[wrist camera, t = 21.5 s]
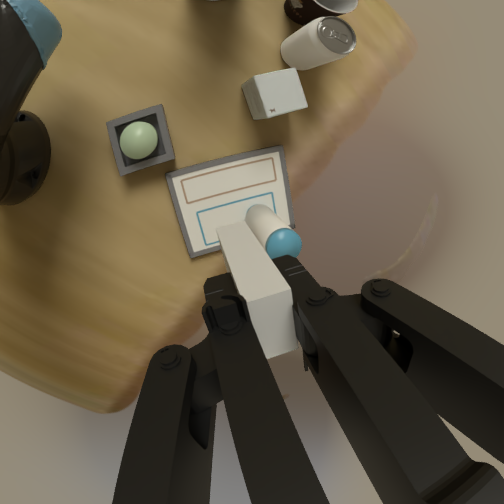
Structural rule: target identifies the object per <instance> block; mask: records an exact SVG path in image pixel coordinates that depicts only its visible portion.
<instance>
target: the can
mask: <svg viewBox="0 0 504 504" xmlns="http://www.w3.org/2000/svg"><path fill="white" fill-rule="evenodd" d="M355 46H356V36H355V33H354V31H353V29H352V28H351V26H350V25H349V24H348V23H347V22H346V21H344V20H343V19H341V18H338V17H335V16H327V17H320V18H317V19H315V20H313V21H311V22H310V23H308V24H307V25H305V26H304V27H302V28H300V29H299V30H297V31H296V32H295V33H293V34H292V35H290V36H289V37H287V38H286V39H285V40H284V41H283V42H282V44H281V55H282V58H283V60H284V61H285V62H286V63H287V64H288V65H289V66H290V67H292V68H296V69H297V70H308V69H312V68H314V67H317V66H320V65H323V64H327V63H330V62H333V61H336V60H339V59H342V58H344V57H346V56H347V55H348V54H349V53H350V52H352V51H353V50H354V48H355Z"/></svg>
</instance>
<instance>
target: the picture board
mask: <svg viewBox="0 0 504 504" xmlns="http://www.w3.org/2000/svg"><path fill="white" fill-rule="evenodd" d="M165 176H166V179H167V183H168V186H169V190H170V193H171V197H172V200H173V204H174V207H175V210H176V214H177V217H178V220H179V224H180V227H181V230H182V233H183V236H184V240H185V243H186V246H187V249H188V252H189V255H190V258H193V257H197V256H200V255H203V254H207V253H210V252H214V251H217V250H221V246H220V243H219V239H218V235H217V231H216V228H219V227H222V226H226V225H230V224H233V223H237V222H241V221H245V217H246V213H247V210H248V209H249V208H250V207H251V206H253V205H256V204H263V205H266V206H268V207H269V208H270V209H271V210H272V211H273V212H274V213H275V214H277V215H278V216H279V217H280V218H281V219H282V220H283V221H284V222H285V223H286V224H287V225H288V226H289V227H290V228H291V229H294V228H295V221H294V214H293V207H292V200H291V193H290V186H289V180H288V173H287V167H286V161H285V155H284V149H283V145H278V146H273V147H268V148H263V149H258V150H253V151H249V152H244V153H240V154H236V155H231V156H227V157H223V158H219V159H215V160H211V161H207V162H203V163H200V164H196V165H192V166H189V167H185V168H182V169H178V170H175V171H171V172H168V173H165ZM245 222H246V221H245Z"/></svg>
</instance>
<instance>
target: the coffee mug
mask: <svg viewBox="0 0 504 504" xmlns="http://www.w3.org/2000/svg"><path fill="white" fill-rule="evenodd" d="M357 4H358V0H286V1H285V3H284V10H285V12H286V14H287V16H288V17H289V18H290V19H291V20H293V21H294V22H296V23H298V24H301V25H307V24H308V23H310V22H311V21H313V20H315V19H317V18H320V17H327V16H335V17H336V16H339V15H342V14H346V13H349V12H352V11H353V10H354V9H355V8H356V7H357Z"/></svg>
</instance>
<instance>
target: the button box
mask: <svg viewBox="0 0 504 504" xmlns="http://www.w3.org/2000/svg"><path fill="white" fill-rule="evenodd" d="M134 122H146V123H149V124H151V125H152V126H154V127H155V129H156V130H157V132H158V137H159V139H158V144H157V146H156V148H155V150H154V151H153V152H152V153H151V154H149V155H148V156H146V157H144V158H141V159H133V158H130V157H128V156H126V155H125V154H124V153H123V151H122V149H121V147H120V137H121V134H122V132H123V130H124V129H125V128H126V127H127V126H128V125H130V124H132V123H134ZM106 125H107V129H108V133H109V137H110V141H111V145H112V149H113V152H114V156H115V160H116V163H117V167H118V170H119V173H120V176H123V175H126V174H128V173H131V172H134V171H137V170H140V169H143V168H146V167H149V166H153V165H156V164H159V163H162V162H165V161H169V160H172V159H175V154H174V150H173V146H172V142H171V138H170V134H169V130H168V126H167V121H166V117H165V113H164V108H163V105H162V104H159V105H156V106H153V107H149V108H146V109H143V110H140V111H137V112H134V113H131V114H128V115H125V116H122V117H120V118H117V119H114V120H112V121H109V122H106Z"/></svg>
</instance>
